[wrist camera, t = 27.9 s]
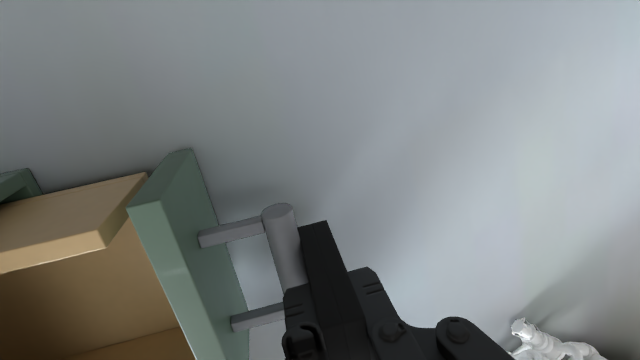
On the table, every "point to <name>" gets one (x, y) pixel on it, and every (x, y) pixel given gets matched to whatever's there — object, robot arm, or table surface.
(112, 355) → the drawer
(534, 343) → the rocket engine
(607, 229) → the table surface
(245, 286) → the table surface
